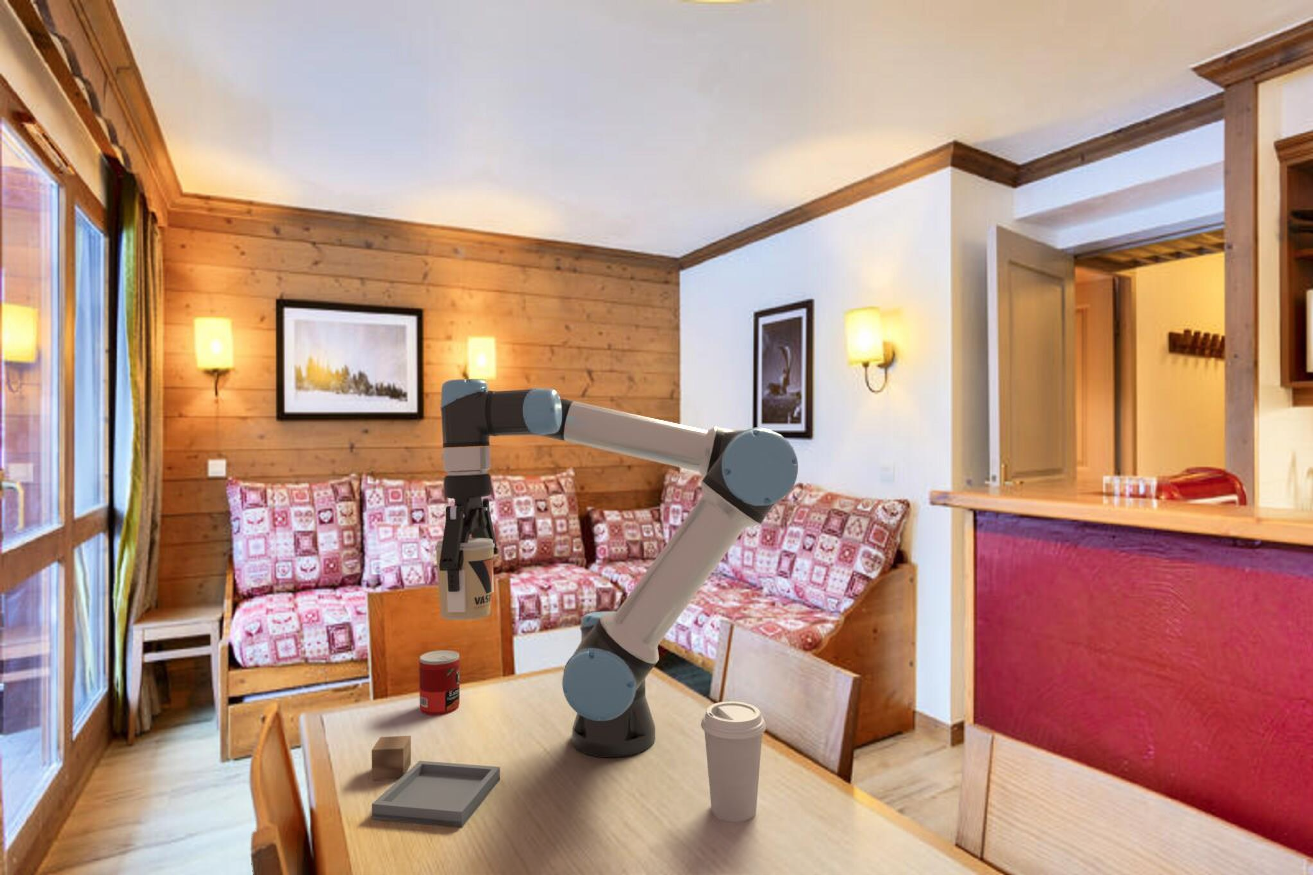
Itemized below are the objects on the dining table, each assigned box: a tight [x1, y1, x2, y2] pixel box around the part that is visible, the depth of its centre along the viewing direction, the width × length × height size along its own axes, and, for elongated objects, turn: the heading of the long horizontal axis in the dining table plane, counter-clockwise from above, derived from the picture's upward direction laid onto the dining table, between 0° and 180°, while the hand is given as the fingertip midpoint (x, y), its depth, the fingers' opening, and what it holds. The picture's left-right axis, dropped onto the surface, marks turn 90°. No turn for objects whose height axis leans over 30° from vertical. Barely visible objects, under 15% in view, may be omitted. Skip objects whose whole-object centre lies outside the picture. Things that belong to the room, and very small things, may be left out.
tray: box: [371, 760, 501, 828], centre depth 109 cm, size 14×14×2 cm
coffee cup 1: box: [434, 537, 495, 621], centre depth 115 cm, size 9×9×12 cm
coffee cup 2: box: [700, 700, 767, 823], centre depth 104 cm, size 10×10×15 cm
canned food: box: [418, 650, 461, 716], centre depth 145 cm, size 8×8×11 cm
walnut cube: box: [371, 735, 412, 781], centre depth 118 cm, size 5×5×5 cm
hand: (472, 601), depth 117 cm, fingers open, 13 cm apart
